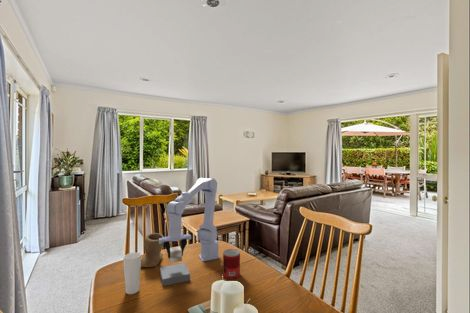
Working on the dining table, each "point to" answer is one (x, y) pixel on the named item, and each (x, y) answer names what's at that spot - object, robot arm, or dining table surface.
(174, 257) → the cube
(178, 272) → the base
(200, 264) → the dining table surface
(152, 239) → the stone cup
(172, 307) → the dining table surface
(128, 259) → the drinking glass
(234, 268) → the canned food
